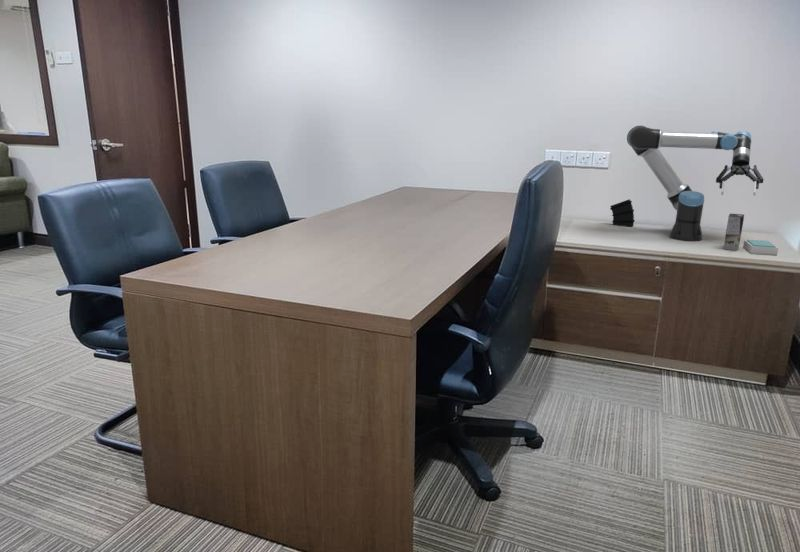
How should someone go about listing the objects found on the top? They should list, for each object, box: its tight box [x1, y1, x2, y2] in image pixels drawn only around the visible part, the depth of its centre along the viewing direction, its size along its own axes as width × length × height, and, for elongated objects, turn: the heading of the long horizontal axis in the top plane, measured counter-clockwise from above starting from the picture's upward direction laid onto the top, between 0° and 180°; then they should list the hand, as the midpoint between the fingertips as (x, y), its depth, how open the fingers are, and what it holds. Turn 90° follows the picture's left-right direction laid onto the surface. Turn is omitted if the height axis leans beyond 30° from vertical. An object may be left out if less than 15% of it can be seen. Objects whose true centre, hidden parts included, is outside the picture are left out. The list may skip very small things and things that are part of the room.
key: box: [747, 239, 777, 248], centre depth 280 cm, size 9×12×2 cm
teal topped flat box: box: [742, 239, 779, 256], centre depth 280 cm, size 11×14×4 cm
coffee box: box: [723, 213, 745, 251], centre depth 284 cm, size 9×6×16 cm
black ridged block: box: [610, 198, 635, 228], centre depth 336 cm, size 4×13×15 cm, turn 56°
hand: (738, 193), depth 288 cm, fingers open, 13 cm apart
